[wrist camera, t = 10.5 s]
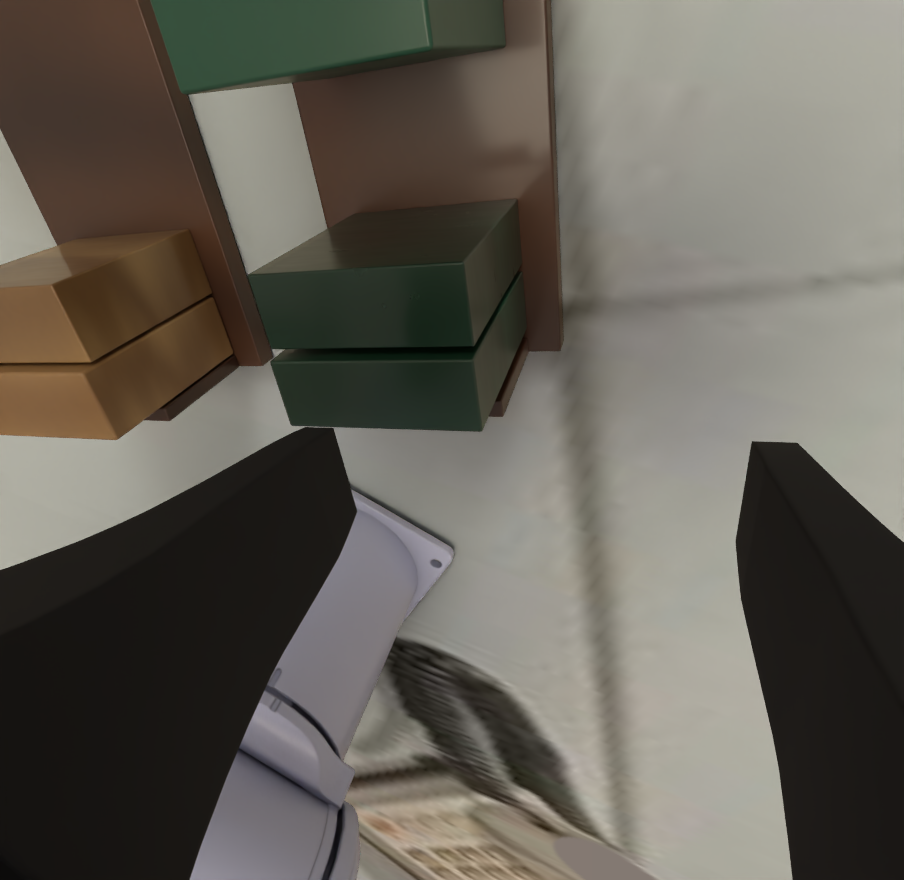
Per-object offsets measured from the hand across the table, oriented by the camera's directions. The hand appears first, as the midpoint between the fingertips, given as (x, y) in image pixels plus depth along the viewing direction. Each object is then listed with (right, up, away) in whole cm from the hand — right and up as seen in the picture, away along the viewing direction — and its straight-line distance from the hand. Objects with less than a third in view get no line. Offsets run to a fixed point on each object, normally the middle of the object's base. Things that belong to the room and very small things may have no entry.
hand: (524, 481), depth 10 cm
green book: (-2, +11, +4) cm, 12 cm away
